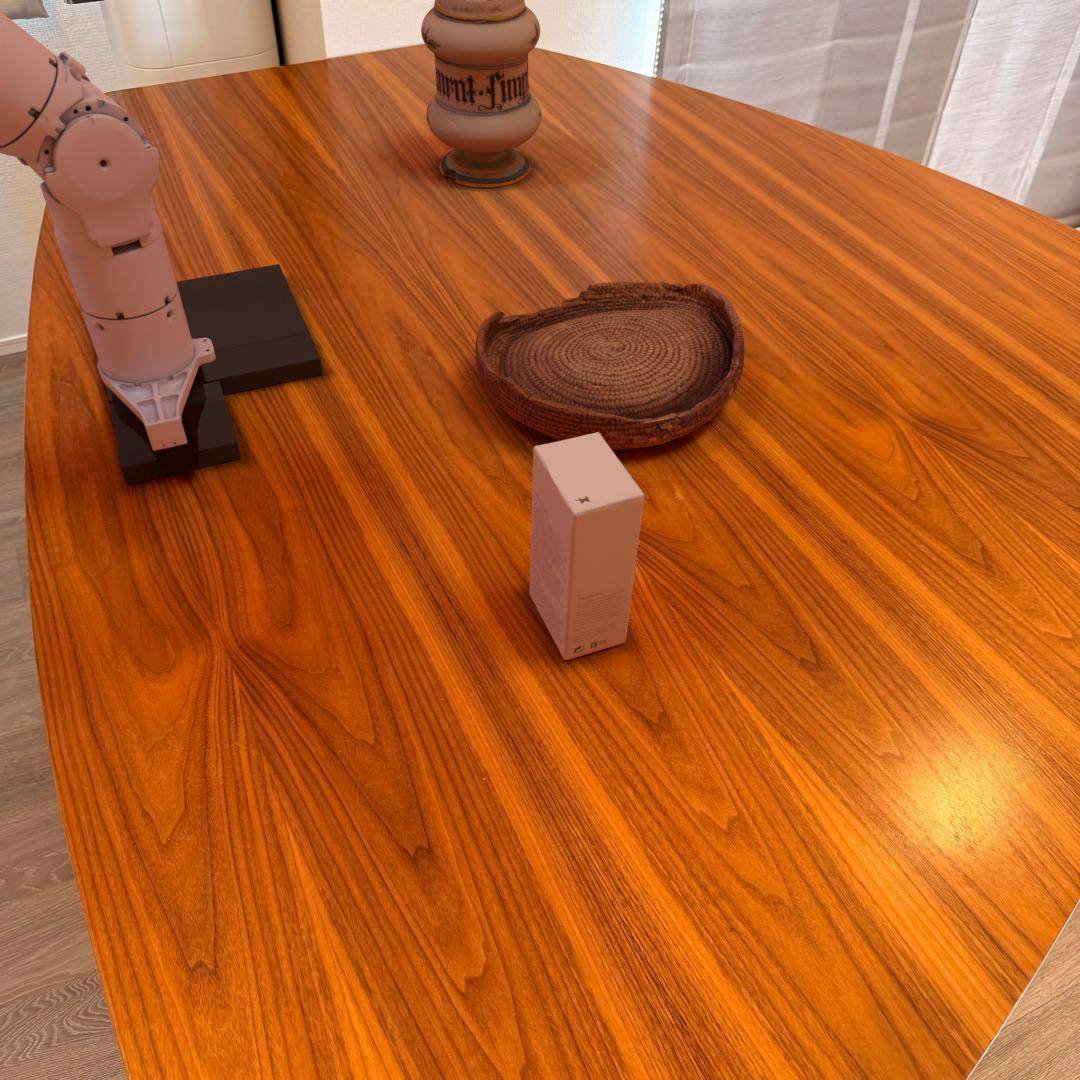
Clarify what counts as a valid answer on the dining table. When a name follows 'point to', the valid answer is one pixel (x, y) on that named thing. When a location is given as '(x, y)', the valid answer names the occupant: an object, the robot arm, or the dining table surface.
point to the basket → (616, 362)
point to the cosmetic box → (583, 543)
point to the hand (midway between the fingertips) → (182, 467)
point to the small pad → (212, 440)
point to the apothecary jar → (482, 88)
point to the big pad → (249, 329)
